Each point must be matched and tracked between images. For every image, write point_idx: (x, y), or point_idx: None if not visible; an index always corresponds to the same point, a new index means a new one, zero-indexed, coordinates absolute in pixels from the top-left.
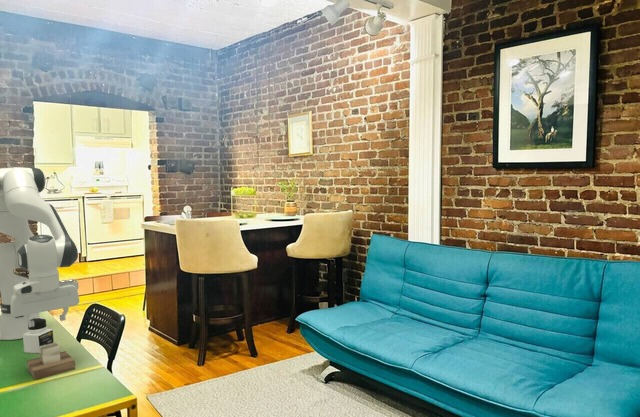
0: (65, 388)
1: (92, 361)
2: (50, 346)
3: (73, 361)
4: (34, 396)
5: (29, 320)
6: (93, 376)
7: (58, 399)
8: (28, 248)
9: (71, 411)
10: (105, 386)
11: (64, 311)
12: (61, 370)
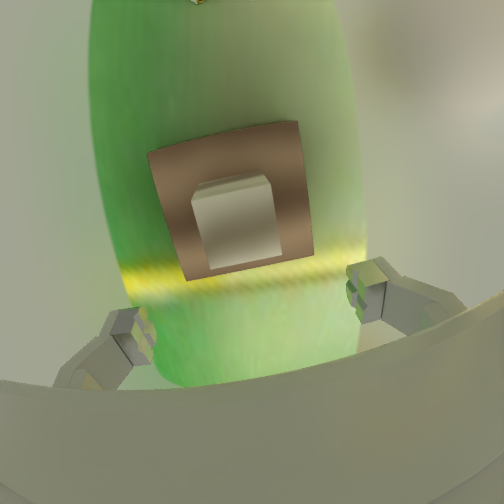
0: (266, 347)
1: (361, 204)
2: (243, 234)
3: (310, 255)
4: (202, 353)
5: (119, 381)
6: (333, 314)
7: None
8: None
9: None
10: None
11: (413, 317)
12: None
